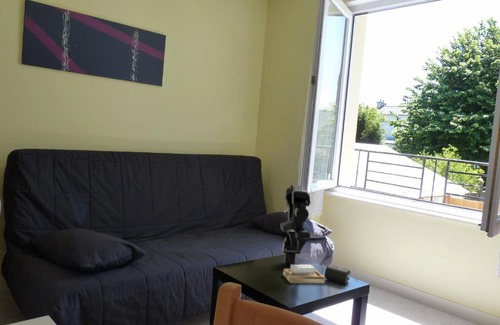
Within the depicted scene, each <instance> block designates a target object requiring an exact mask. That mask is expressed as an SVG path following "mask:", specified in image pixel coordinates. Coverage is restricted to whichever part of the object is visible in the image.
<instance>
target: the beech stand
mask: <svg viewBox="0 0 500 325" xmlns="http://www.w3.org/2000/svg"><path fill="white" fill-rule="evenodd" d="M282 271H283V272H282V273H283V274H282V275H283V276H284V278H285V279H286V280H287V281H288V282H289V283H290V284H325V279H326V278H325V275H323V273H321V272H319V270H317V269H316V268H315V273H314V276H293V275H291V274H290V268H283V270H282Z"/></svg>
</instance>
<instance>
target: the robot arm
mask: <svg viewBox="0 0 500 325" xmlns="http://www.w3.org/2000/svg"><path fill="white" fill-rule="evenodd" d="M301 186H302V185H300V184H295V183H293V184H290V185H289V187H288V188H286V190H285V194H284V200H285V204H286V206H287V208H288V211H287V212H288V215H287V216H288V218H287V219H288V220H287V221H284V222H281V223H279V225H280V230H281V231H282V232H283V233H285V232H286V233H287V235H286V236H285V238H284V240H283V243H282V246H281V247H282V248H281V250H282V253H283V254H284V260H282V261H281V263H282V264H283V265H284V266H285V267H286V266H289V267H291V265H298V264H297V263H296V261H297V260H296V258H297V255H300V254H301V251H302V249H303V247H304V246H305V244H306V243H307V242H308V240H309V239H311V233H310V232H309V231H307V230H306V227H305V223H306V221H307V219H308V218H309V215H310V213H309V211H308V210H309V209H307V207H310V205H311V196H310V193H309V192H308V190H303V189H302V187H301Z"/></svg>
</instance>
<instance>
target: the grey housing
mask: <svg viewBox="0 0 500 325" xmlns="http://www.w3.org/2000/svg"><path fill="white" fill-rule="evenodd" d="M289 267H290V268H289V269H290V274H291V275H293V276H314V273H315V269H316V268H315V267H314V266H313V265H312V264H297V265H291V266H289Z"/></svg>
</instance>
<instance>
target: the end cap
mask: <svg viewBox="0 0 500 325" xmlns="http://www.w3.org/2000/svg"><path fill="white" fill-rule="evenodd" d="M350 274H351V270H350V269H349V268H343V269H342V268H340V267H338V266H336V265H332V266H330V265H327V266H326V268H325V270H324V277H325V279H326V281H328V282H333V283H336V284H339V285H343V286H347V285H348V284H349V280H350V276H349V275H350ZM346 284H347V285H346Z"/></svg>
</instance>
